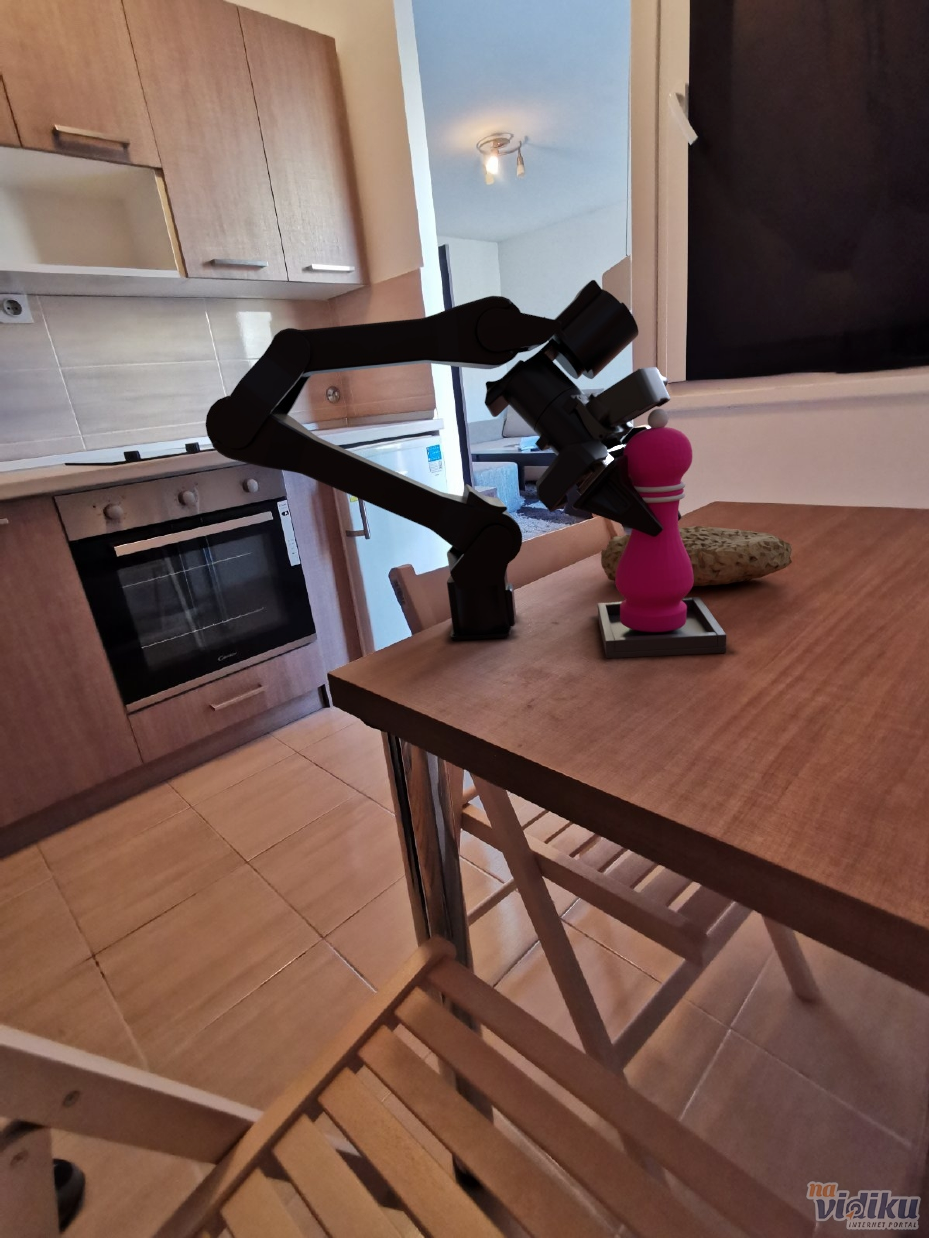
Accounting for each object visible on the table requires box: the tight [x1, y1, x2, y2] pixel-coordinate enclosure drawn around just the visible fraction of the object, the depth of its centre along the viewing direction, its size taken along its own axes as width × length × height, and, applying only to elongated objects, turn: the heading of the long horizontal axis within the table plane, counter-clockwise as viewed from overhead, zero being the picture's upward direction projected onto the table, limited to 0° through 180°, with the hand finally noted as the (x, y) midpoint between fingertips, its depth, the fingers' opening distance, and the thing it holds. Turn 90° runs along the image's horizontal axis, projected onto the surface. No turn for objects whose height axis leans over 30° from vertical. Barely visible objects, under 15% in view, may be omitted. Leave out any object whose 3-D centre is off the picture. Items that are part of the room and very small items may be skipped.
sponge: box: [600, 525, 793, 587], centre depth 71 cm, size 13×8×20 cm
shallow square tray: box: [597, 596, 728, 659], centre depth 59 cm, size 11×11×2 cm
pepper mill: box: [614, 408, 694, 632], centre depth 55 cm, size 7×7×20 cm
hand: (668, 527), depth 54 cm, fingers closed on pepper mill, 4 cm apart
